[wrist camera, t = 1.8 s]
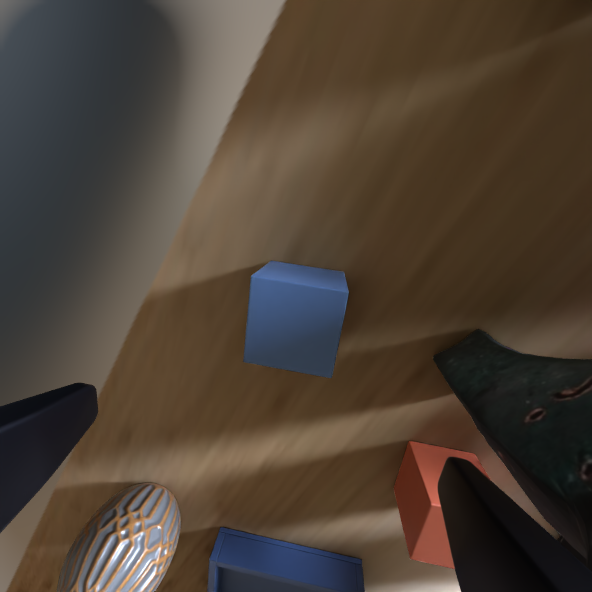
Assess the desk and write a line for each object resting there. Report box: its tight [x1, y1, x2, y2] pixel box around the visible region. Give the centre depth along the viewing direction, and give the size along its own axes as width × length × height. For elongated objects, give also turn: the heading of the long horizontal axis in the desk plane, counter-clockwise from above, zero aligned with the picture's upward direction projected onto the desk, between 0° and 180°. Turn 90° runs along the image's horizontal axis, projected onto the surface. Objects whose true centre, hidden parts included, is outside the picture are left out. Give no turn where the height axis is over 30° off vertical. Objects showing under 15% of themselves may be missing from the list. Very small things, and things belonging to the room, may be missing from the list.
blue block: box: [243, 261, 349, 378], centre depth 15 cm, size 4×4×4 cm
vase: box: [57, 483, 181, 592], centre depth 20 cm, size 7×7×9 cm
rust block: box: [394, 441, 490, 569], centre depth 18 cm, size 4×4×4 cm
